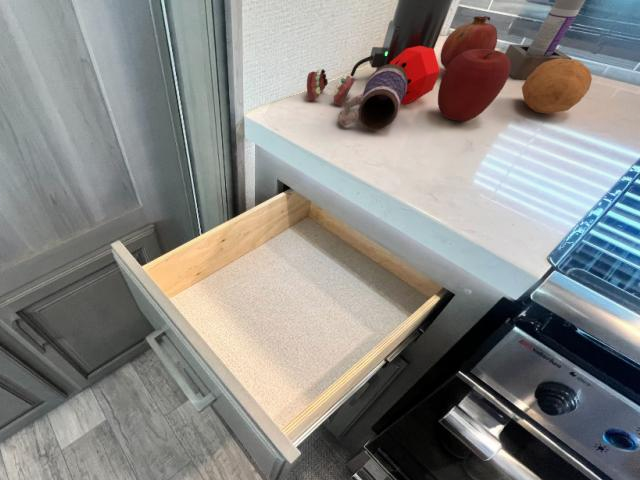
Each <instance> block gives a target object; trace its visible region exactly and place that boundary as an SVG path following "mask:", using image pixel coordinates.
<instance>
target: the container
mask: <svg viewBox="0 0 640 480" xmlns="http://www.w3.org/2000/svg"><path fill="white" fill-rule="evenodd" d="M585 2H586V0H555V2H554V4H553V5H552V7H551V8H550V10H549V12H548V14H547V15H546V17H545V19H544V21H543V22H542V24H541V26H540V27H539V29H538V31H537V33H536V35H535V36H534V38H533V39H532V42H531V43H530V44H529V45H530V47H529V48H528V50H527V53H529V54H530V55H550V56H551V55H552V54H553V52H554V50H555V49H557V47H558V45H559V44H560V43H561V41H562V39H563V37H564V36H565V34H566V33H567V31H568V30H569V28H570V26H571V25H572V23H573V22H574V21H575V18H576V17H577V15H578V14H579V12H580V11H581V8H582V7H583V6H584V3H585Z"/></svg>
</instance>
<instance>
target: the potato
mask: <svg viewBox="0 0 640 480" xmlns="http://www.w3.org/2000/svg"><path fill="white" fill-rule="evenodd" d="M592 80H593V78H592V73H591V70H590V68H589V67H588V66H586V65H585V64H584V63H583V62H581V61H580V60H577V59H573V58H572V59H563V58H559V59H554V60H550V61H547V62H544V63H543V64H541V65H540V66H538V67H537V68H536V69H535V70H534V71H533V72H532V73H531V74H530V75H529V76H528V78H527V79H525V80H524V82H523V84H522V86H521V92H522V97H523V101H524V103H525V104H526V105H527V106H528V107H529V108H530V109H531V110H533V111H534V112H536V113H540V114H545V115H549V114H554V113H561V112H566V111H570V110H571V108H573V107H574V106H575V105H577V104H579V103H580V102H581V101H582V99H583V98H584V97H585V96H586V95H587V93H588V92H589V90H590V87H591V84H592Z"/></svg>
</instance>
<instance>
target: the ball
mask: <svg viewBox="0 0 640 480" xmlns="http://www.w3.org/2000/svg"><path fill="white" fill-rule="evenodd" d="M390 64H395V65H398V66H400V67H401V68H403V69H404V71H405V72H406V74H407V79H408V82H407V89H406V94H405V96H404V99H403V101H402V103H401V104H400V105H406V104H409V103H412V102H415V101H418V100H419V99H420V98H422V97H424V96H425V95H427V94H429V93H430V92H431V91H433V90H434V88H435V86H436V82H437V80H438V79H439V78H438V77H439V76H440V73H441V70H440V65H439V62H438V59H437V55H436V52H435V48H434V49H431V48H427V47H423V46H416V47H412V48H407V49H405V50H404V51H403V52H402V53H401V54H399V55H398V56H397V57H396V58H395V59H393V60H392V61H391V62H390Z"/></svg>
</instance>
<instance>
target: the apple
mask: <svg viewBox="0 0 640 480" xmlns="http://www.w3.org/2000/svg"><path fill="white" fill-rule="evenodd" d="M505 53H506V52H503V51H500V50H496V49H495V50H491V49H473V50H468V51H465V52H463V53H462V54H460V55H458V56H456V57H455V58H454V59H453V60H452V61H451V62H450V64H449V65H448V66H447V68H444V72H443V74H442V76H441V80H440V83H439V87H438V93H437V107H438V110H439V112H440V114H441V115H442V116H443V117H445V118H447V119H450V120H453V121H458V122H469V121H471V120H473V119H475V118H477V117H478V116H479V115H481V114H482V113H483V112H484V111H485V110H487V109H488V107H489V106H490V105H491V104H492V103H493V102H494V101H495V100H496V98H497V97H498V96H499V94H500V93H501V91H502V90H503V88H504V87H505V85H506V83H507V81H508V80H509V76H510V75H509V73H510V60H509V58H508V56H507V55H506V54H505Z"/></svg>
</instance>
